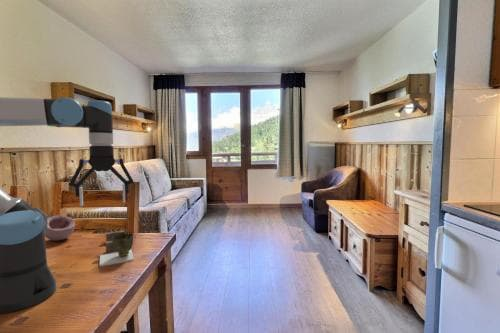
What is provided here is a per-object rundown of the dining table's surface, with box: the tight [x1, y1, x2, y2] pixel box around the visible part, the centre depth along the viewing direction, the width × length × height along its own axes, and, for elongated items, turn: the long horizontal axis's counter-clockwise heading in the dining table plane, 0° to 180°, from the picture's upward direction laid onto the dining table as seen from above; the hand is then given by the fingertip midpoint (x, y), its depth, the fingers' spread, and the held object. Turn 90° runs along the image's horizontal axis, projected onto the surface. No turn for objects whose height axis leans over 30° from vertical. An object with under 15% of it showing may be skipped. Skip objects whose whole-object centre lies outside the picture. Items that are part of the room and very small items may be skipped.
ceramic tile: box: [99, 248, 135, 267], centre depth 101 cm, size 10×11×1 cm
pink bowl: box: [45, 214, 76, 242], centre depth 121 cm, size 12×12×12 cm
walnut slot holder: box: [105, 229, 125, 254], centre depth 114 cm, size 7×14×4 cm, turn 28°
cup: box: [112, 231, 134, 257], centre depth 102 cm, size 8×7×8 cm
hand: (103, 203), depth 98 cm, fingers open, 13 cm apart
